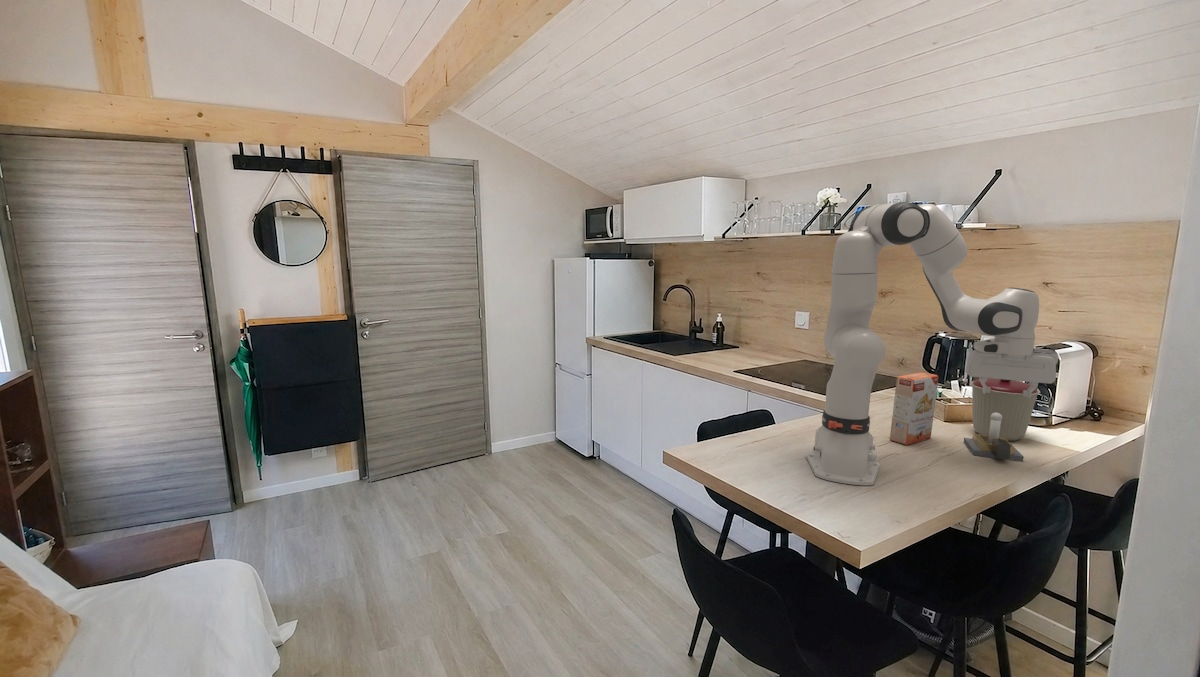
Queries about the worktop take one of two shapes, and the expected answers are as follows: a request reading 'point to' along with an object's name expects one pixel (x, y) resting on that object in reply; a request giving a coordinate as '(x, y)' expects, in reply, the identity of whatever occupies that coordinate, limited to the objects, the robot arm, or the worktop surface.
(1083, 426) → the worktop surface
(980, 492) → the worktop surface
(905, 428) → the cracker box
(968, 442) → the stand
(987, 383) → the canister
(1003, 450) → the link
